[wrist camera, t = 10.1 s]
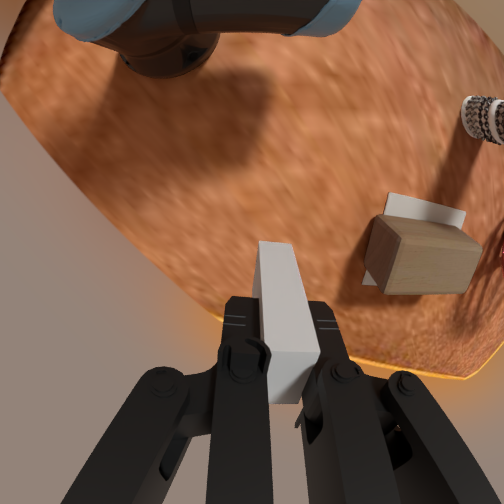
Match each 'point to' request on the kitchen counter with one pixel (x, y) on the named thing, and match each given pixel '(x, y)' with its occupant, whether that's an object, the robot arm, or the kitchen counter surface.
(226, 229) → the kitchen counter surface
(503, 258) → the spiral basket
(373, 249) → the wooden block
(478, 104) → the decorative candle
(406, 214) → the mat
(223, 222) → the kitchen counter surface
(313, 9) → the robot arm
